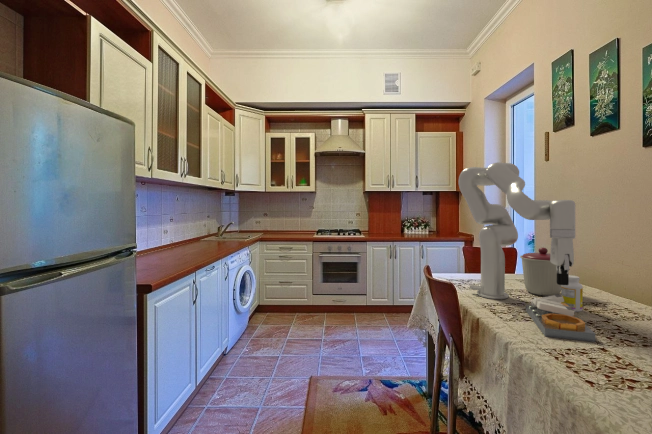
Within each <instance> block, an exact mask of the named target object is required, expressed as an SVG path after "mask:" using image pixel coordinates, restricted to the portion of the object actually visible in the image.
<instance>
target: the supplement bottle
mask: <svg viewBox="0 0 652 434" xmlns="http://www.w3.org/2000/svg"><path fill="white" fill-rule="evenodd" d="M580 281H581V280H580V276H577V275H570V274H569V285H561V292H560V295H562V296H563V299H564V302H560V303H565V304H567V305H568V306H569V307H570V308H572V309H573V310H574V311H575V312H574V313H576V312H577V313H579V312H582V311H583V305H584V303H583V302H584V297H583V295H584V293H583V291H584V286H583V285H582V283H580Z"/></svg>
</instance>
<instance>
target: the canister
mask: <svg viewBox="0 0 652 434" xmlns="http://www.w3.org/2000/svg"><path fill="white" fill-rule="evenodd" d="M548 251H549V250H548V249H547V248H546V247H540V248H538V252H528V253H523V254H522V255H519V258H520V259H521V264H522V265H521V266H522V275H523V283H524V286H525V289H526V291H527V292H528V293H531V294H533V295H537V296H543V297H548V296H553V295H556V294H561V285H558V284H557V269H556V265H554V264H552V263H551V262H550V253H548Z"/></svg>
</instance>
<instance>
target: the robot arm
mask: <svg viewBox="0 0 652 434" xmlns="http://www.w3.org/2000/svg"><path fill="white" fill-rule="evenodd" d="M479 186H486V187H487V186H488V187H489V186H496V188H498V189H499V190H500V191H502V192H503V193H504V194H505V195H506V200H507V203H508V205H509V206H510V207H511V208H512V210H513V211H514V212H516V214H518V215H519V216H520V217H522V218H523V219H525V220H529V221H545V220H546V221H548V220H549V238H551V241H550V253H549V254H550V262H551V263H552V264H554V265H556V269H557V284H558V285H569V275H570V274H569V273H570V268H571V267H573V266H574V264H575V263H574V261H575V260H574V258H575V253H574V252H575V251H574V240H575V239H576V203H575V201H574V200H573V199H557V200H548V199H546V200H545V199H543V200H541V199H537V200H536V199H532V198H530V197H529V196H528V195H527V194H526V193H524V192H523V190H524V188H525V186H526V182H525V180H524V179H523V178H522V177H520V169H519V168H518V166H517V165H515V163H510V162H509V163H508V162H493V163H491V164H490V165H488V166H487V167H481V166H478V167H477V166H471V167H467V168H465V169H463V170H462V171H461V172H460V174H459V176H458V187H459V191H460V192H461V194H462V196H463V198H464V200H465V201H466V204H467V206H468V208H469V211H470V213H471V215H472V217H473V220H474V221H475V223H476V224H478V225H484V226H483V227H482V228H481V229H479V233H478V241H479V246H480V283H479V284H477V285H476V284H475V285H474V284H470V285H469V290H473V291H476V294H477V296H479V297H482V298H485V299H491V300H492V299H493V300H505V299H508V298H509V294H508V293H507V292H506V291H505V288H506V287H505V286H506V285H505V282H506V281H505V279H506V277H505V276H506V272H505V271H506V268H505V267H506V258H505V256H506V255H505V252H504V250H503V248H502V247H504V246H505V247H506V246H507V247H508V246H512V245H514V244H515V243H517V241H518V240H519V239H518V238H519V233H518V230H517V227H516V225H515V223H514V221H513V219H512V217H511V215H510V213H509V211H508V210H507V208H505V207H504V206H503V205H502V204H497V203H490V202H489V200H488V198H487V196H486V194H485V193H484V192H483V190H481V189H480V188H479Z"/></svg>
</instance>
